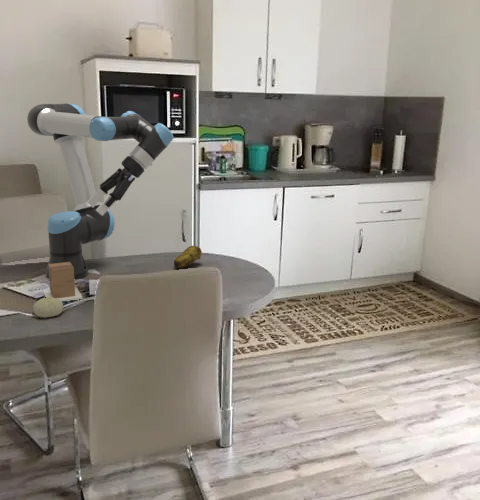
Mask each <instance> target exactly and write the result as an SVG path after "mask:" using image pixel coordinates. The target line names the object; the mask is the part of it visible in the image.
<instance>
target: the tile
mask: <svg viewBox="0 0 480 500" xmlns="http://www.w3.org/2000/svg"><path fill="white" fill-rule="evenodd" d="M44 295H45V296H44ZM43 296H44V298H45V297H52V298H53V296H52V294H51V292H50V289H48V290H43ZM56 299H59V300H60V301H61V302H62V301H70V300H79V299H84V298H83V296H82V293H80V291H79V289H78V287H77V286H75V296H71V297H63V298H56Z"/></svg>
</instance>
